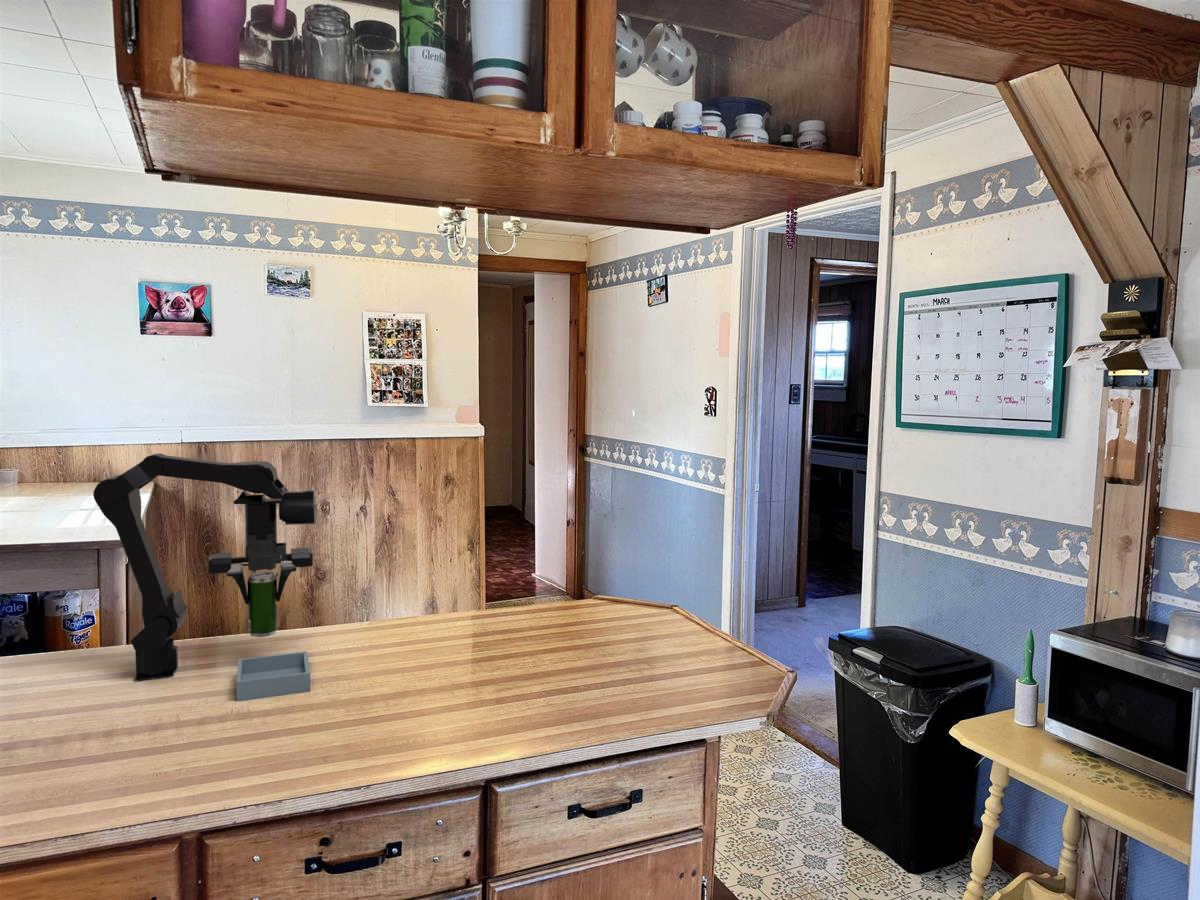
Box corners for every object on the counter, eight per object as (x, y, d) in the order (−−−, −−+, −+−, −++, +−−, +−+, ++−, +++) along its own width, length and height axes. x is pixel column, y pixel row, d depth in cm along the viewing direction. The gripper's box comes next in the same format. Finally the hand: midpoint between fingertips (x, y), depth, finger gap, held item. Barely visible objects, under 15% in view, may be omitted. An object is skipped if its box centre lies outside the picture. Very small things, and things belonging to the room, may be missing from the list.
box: (236, 701, 138) (236, 682, 138) (238, 676, 150) (238, 659, 149) (310, 691, 143) (310, 673, 143) (307, 668, 155) (306, 651, 154)
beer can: (254, 639, 151) (253, 579, 150) (244, 632, 155) (243, 574, 154) (282, 633, 155) (281, 574, 154) (271, 627, 159) (270, 569, 158)
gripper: (206, 536, 142) (208, 619, 143) (314, 530, 150) (315, 608, 151) (209, 525, 152) (211, 603, 153) (310, 520, 160) (311, 594, 161)
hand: (262, 602), depth 154 cm, fingers closed on beer can, 5 cm apart
